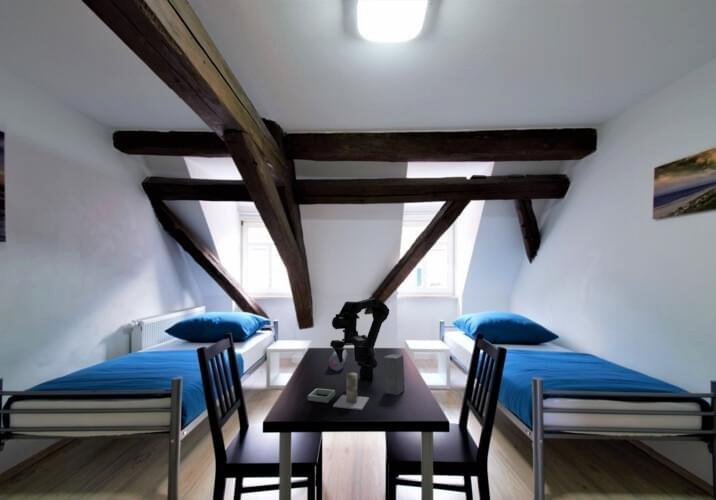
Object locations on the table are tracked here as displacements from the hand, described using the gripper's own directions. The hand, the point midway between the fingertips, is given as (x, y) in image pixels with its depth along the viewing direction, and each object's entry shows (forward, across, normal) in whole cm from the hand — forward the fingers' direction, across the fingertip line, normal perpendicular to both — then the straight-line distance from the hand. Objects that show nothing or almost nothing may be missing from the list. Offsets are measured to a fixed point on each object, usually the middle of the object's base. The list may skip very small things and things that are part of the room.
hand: (348, 362), depth 158 cm
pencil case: (+10, +17, +31) cm, 36 cm away
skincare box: (+11, +13, -18) cm, 25 cm away
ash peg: (+12, -9, -15) cm, 22 cm away
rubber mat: (+13, -10, -15) cm, 22 cm away
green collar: (+13, -16, -3) cm, 21 cm away
